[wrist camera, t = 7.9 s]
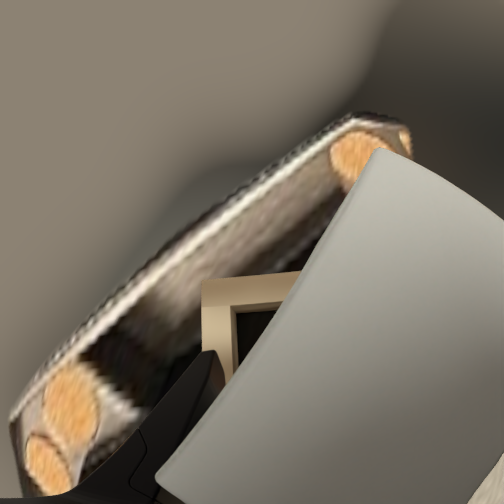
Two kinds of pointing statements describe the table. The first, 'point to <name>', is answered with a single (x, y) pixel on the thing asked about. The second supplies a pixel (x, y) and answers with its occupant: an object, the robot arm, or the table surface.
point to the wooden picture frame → (237, 309)
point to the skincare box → (368, 361)
